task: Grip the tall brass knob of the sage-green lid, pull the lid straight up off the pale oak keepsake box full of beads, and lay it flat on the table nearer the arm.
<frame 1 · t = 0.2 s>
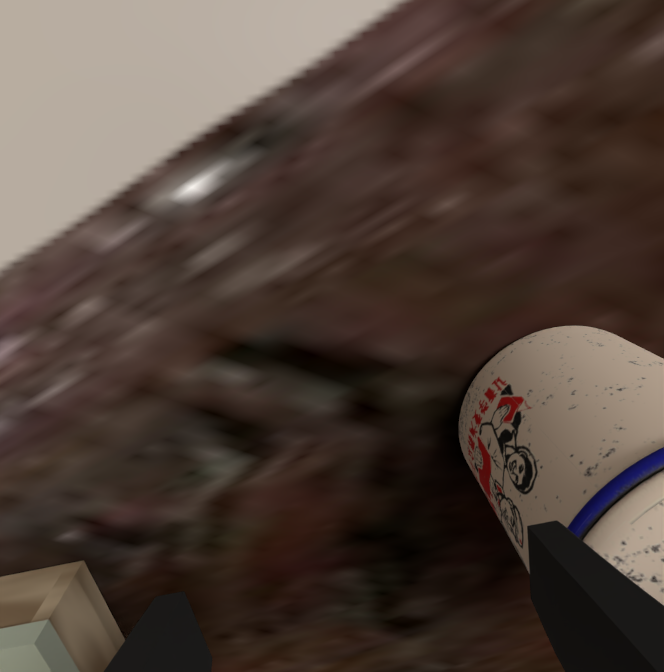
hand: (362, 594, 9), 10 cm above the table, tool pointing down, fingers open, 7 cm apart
teacup with lid: (550, 437, 20), on the table
keepsake box: (51, 652, 23), on the table
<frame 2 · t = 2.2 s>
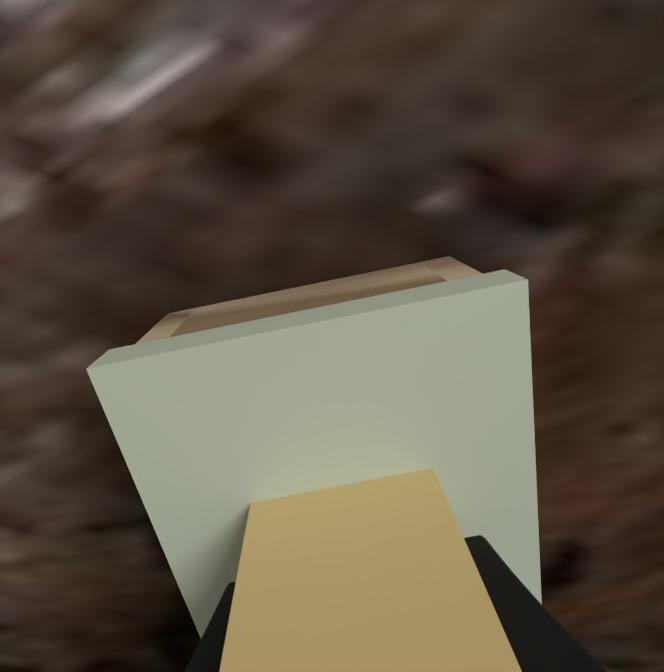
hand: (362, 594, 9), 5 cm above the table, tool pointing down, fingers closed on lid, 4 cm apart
keepsake box: (344, 449, 14), on the table
lid: (353, 523, 11), point 3 cm above the table, touching gripper, keepsake box
when the fingers open (3 cm above the table, at t = 7.4 s): lid drops 1 cm, on the table.
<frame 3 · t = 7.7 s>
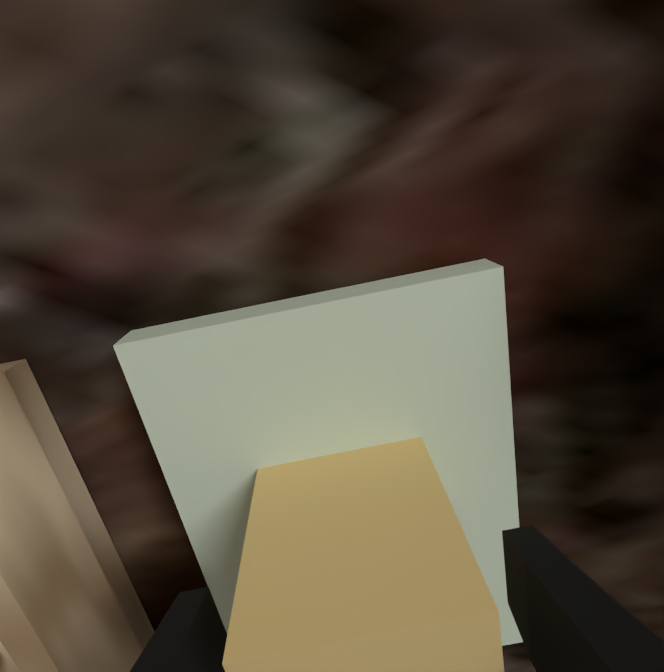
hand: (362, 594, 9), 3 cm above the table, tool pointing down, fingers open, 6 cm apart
lid: (350, 491, 12), on the table
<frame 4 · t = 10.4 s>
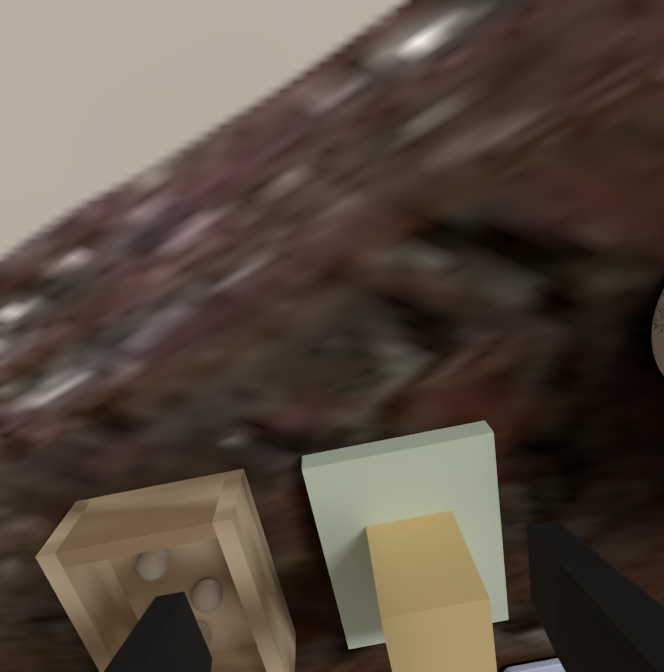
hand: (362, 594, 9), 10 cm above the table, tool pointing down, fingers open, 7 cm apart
keepsake box: (194, 572, 22), on the table
lid: (409, 535, 22), on the table
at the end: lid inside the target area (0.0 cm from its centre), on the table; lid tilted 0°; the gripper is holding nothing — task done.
